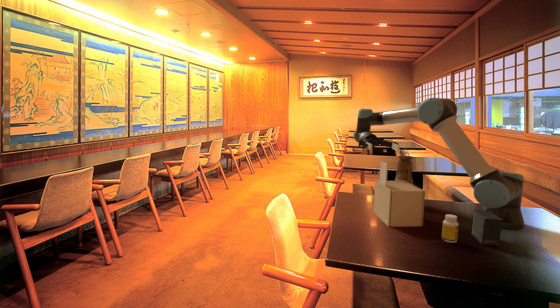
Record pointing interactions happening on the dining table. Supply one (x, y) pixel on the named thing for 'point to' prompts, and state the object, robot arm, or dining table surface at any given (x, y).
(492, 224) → the small box
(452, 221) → the supplement bottle
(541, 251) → the dining table surface
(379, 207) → the front flap
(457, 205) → the dining table surface
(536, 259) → the dining table surface
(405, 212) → the carton
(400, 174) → the lantern
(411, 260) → the dining table surface
